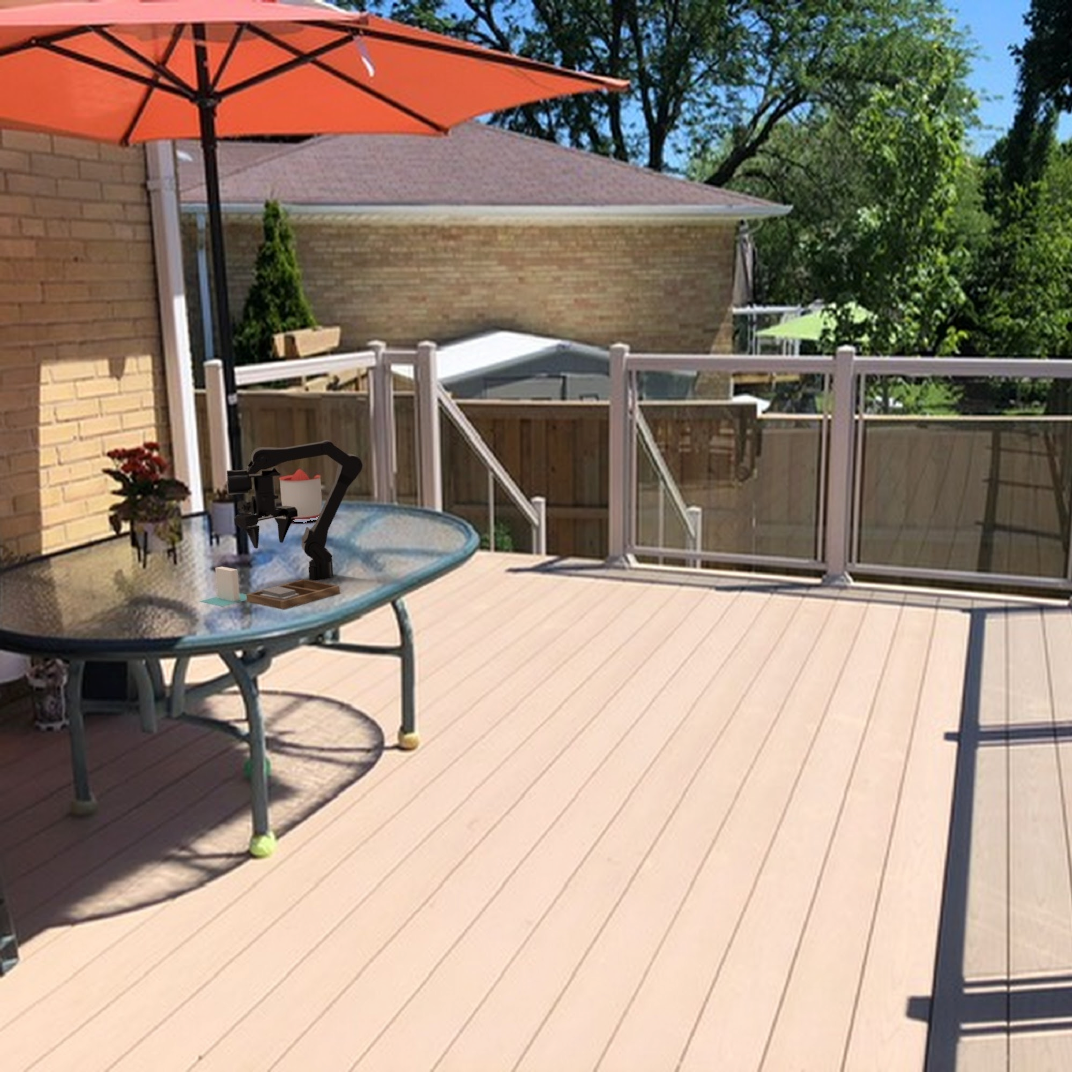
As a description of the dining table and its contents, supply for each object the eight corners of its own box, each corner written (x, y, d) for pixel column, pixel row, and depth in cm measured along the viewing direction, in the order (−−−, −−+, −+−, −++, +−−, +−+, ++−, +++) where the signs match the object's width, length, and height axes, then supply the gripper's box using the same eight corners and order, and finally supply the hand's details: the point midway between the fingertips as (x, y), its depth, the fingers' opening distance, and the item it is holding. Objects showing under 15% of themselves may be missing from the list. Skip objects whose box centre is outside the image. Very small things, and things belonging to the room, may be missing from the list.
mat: (235, 595, 311) (235, 592, 311) (258, 600, 305) (258, 596, 305) (199, 604, 302) (199, 601, 302) (222, 610, 296) (222, 606, 296)
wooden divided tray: (303, 589, 316) (303, 579, 315) (340, 596, 307) (339, 585, 306) (247, 604, 301) (246, 594, 300) (283, 612, 292) (282, 601, 291)
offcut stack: (275, 596, 305) (274, 585, 305) (301, 601, 299) (300, 590, 298) (256, 601, 300) (255, 590, 300) (282, 606, 294) (281, 595, 293)
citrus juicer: (334, 517, 429) (331, 466, 425) (307, 525, 413) (304, 472, 409) (301, 515, 435) (297, 465, 431) (273, 523, 419) (269, 471, 416)
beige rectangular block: (223, 596, 306) (221, 566, 305) (239, 599, 302) (237, 569, 301) (217, 598, 305) (215, 568, 303) (233, 601, 301) (231, 571, 299)
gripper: (272, 485, 328) (276, 537, 331) (220, 494, 313) (224, 548, 317) (297, 488, 321) (300, 540, 324) (245, 497, 307) (249, 552, 310)
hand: (268, 545), depth 319 cm, fingers open, 9 cm apart
